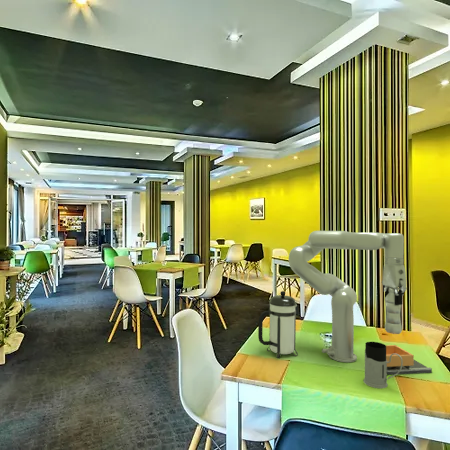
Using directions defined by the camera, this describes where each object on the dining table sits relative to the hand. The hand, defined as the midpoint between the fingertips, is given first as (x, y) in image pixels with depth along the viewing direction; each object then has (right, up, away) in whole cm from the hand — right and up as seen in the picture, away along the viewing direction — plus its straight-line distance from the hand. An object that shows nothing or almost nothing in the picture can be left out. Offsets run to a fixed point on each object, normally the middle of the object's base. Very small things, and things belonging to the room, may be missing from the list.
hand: (393, 302), depth 145 cm
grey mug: (-13, -29, -16) cm, 35 cm away
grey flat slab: (+3, -29, +1) cm, 29 cm away
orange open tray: (-1, -27, 0) cm, 27 cm away
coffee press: (-47, -28, +14) cm, 57 cm away
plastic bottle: (0, -14, 0) cm, 14 cm away
